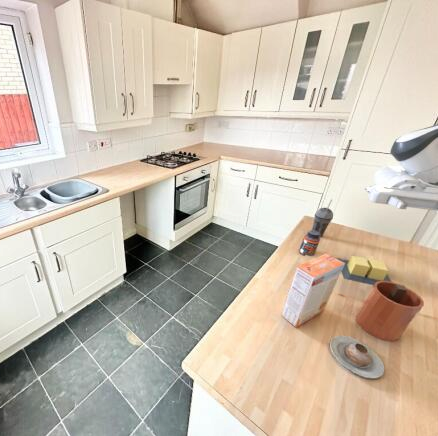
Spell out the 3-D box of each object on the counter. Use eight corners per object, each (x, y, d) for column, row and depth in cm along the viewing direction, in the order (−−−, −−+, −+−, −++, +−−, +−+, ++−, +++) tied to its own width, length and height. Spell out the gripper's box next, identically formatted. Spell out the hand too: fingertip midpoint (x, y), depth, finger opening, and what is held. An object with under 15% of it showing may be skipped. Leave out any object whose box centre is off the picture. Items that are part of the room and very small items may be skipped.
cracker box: (306, 300, 86) (326, 252, 75) (323, 312, 81) (347, 263, 71) (278, 314, 80) (296, 265, 70) (295, 328, 76) (316, 278, 66)
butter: (377, 271, 96) (383, 261, 94) (382, 281, 92) (388, 270, 89) (346, 264, 100) (351, 255, 98) (350, 274, 95) (355, 264, 93)
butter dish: (382, 269, 99) (383, 267, 98) (396, 292, 88) (397, 290, 87) (335, 259, 105) (336, 257, 104) (342, 280, 94) (343, 278, 93)
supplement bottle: (300, 256, 107) (308, 235, 102) (296, 248, 112) (304, 227, 107) (315, 258, 106) (324, 236, 100) (311, 250, 111) (319, 229, 105)
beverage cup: (304, 234, 123) (316, 198, 113) (314, 231, 125) (327, 195, 115) (317, 241, 117) (332, 204, 107) (328, 238, 119) (343, 201, 109)
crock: (391, 318, 78) (413, 286, 71) (405, 346, 70) (432, 313, 63) (352, 308, 82) (369, 276, 75) (361, 333, 74) (381, 301, 67)
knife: (378, 318, 77) (402, 282, 70) (384, 330, 74) (410, 294, 66) (370, 316, 78) (393, 280, 71) (376, 328, 74) (400, 292, 67)
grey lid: (321, 354, 68) (327, 343, 66) (337, 330, 75) (343, 320, 72) (375, 390, 60) (383, 380, 58) (388, 361, 66) (396, 350, 64)
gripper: (367, 177, 78) (382, 193, 67) (454, 186, 71) (487, 205, 60) (359, 195, 81) (372, 213, 70) (441, 205, 74) (471, 227, 63)
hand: (426, 209), depth 65 cm, fingers open, 8 cm apart
